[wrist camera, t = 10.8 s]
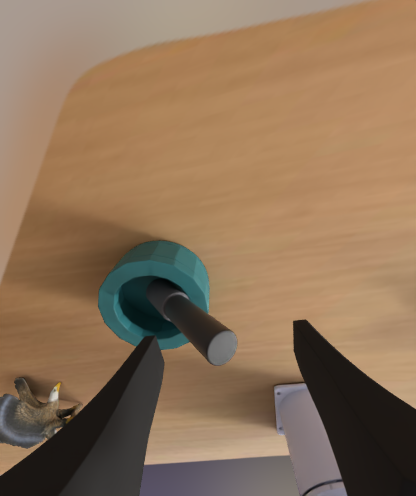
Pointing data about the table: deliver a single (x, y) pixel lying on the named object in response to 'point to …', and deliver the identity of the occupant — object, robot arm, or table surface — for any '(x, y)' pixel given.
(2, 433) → the eagle figurine
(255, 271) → the table surface
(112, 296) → the teal hollow cylinder
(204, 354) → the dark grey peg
